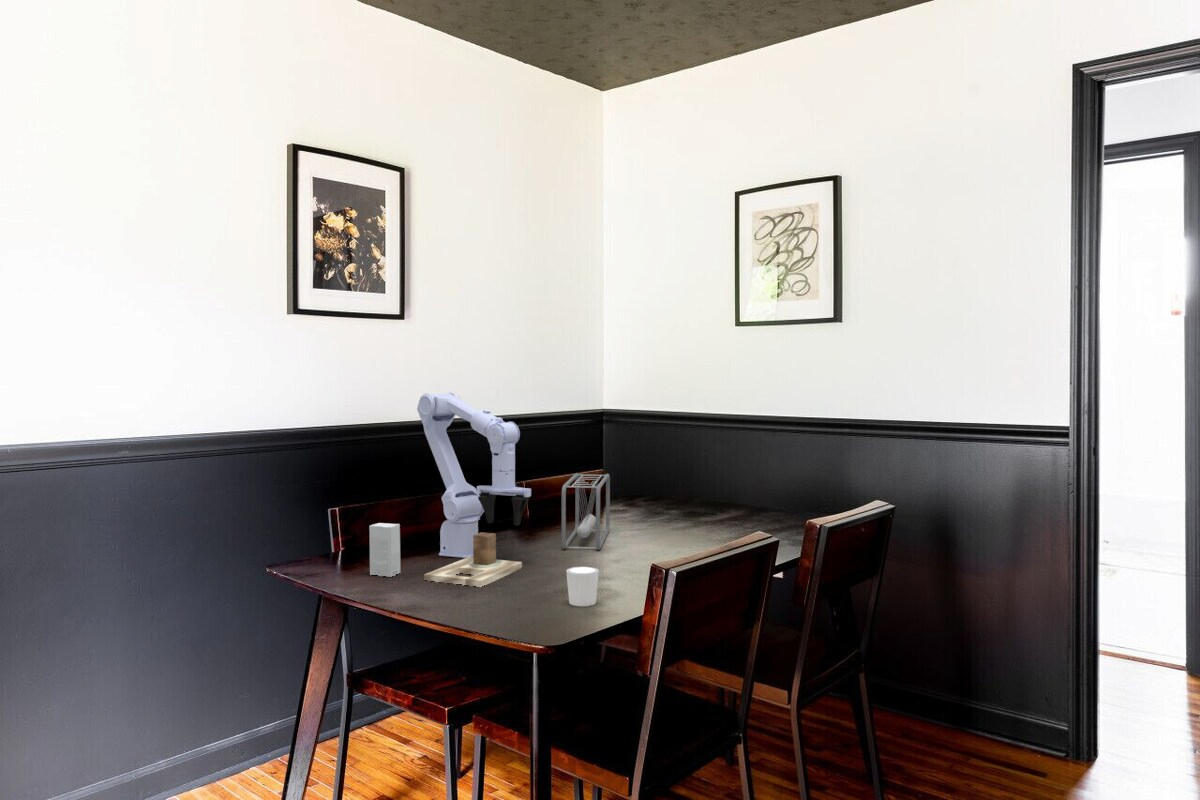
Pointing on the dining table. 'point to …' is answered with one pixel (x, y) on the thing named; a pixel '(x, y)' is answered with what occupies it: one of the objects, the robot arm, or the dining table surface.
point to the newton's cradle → (589, 519)
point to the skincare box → (384, 549)
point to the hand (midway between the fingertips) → (503, 523)
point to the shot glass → (582, 585)
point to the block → (484, 548)
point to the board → (473, 572)
